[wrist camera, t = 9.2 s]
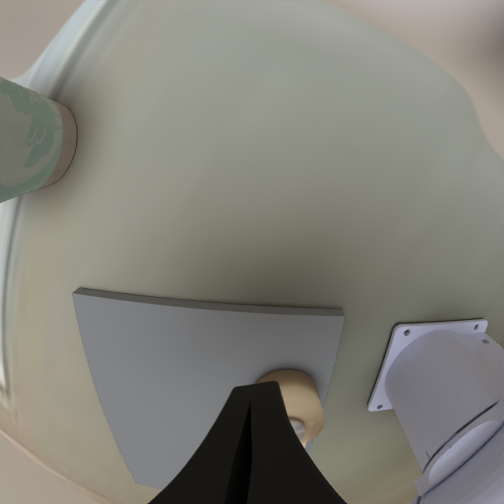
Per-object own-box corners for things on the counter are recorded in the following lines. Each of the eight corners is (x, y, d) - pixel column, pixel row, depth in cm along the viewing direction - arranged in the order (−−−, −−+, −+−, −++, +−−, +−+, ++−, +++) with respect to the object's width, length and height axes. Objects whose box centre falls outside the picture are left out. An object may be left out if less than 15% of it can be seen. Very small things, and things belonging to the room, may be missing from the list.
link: (254, 367, 17) (253, 400, 14) (323, 371, 17) (332, 402, 14) (239, 483, 21) (237, 507, 18) (284, 485, 21) (285, 509, 18)
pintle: (307, 418, 14) (308, 423, 14) (301, 438, 15) (302, 443, 15) (272, 418, 14) (272, 423, 14) (268, 438, 15) (268, 443, 15)
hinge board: (341, 308, 17) (345, 316, 16) (289, 494, 24) (290, 501, 23) (79, 287, 18) (72, 293, 17) (137, 476, 24) (135, 482, 23)
